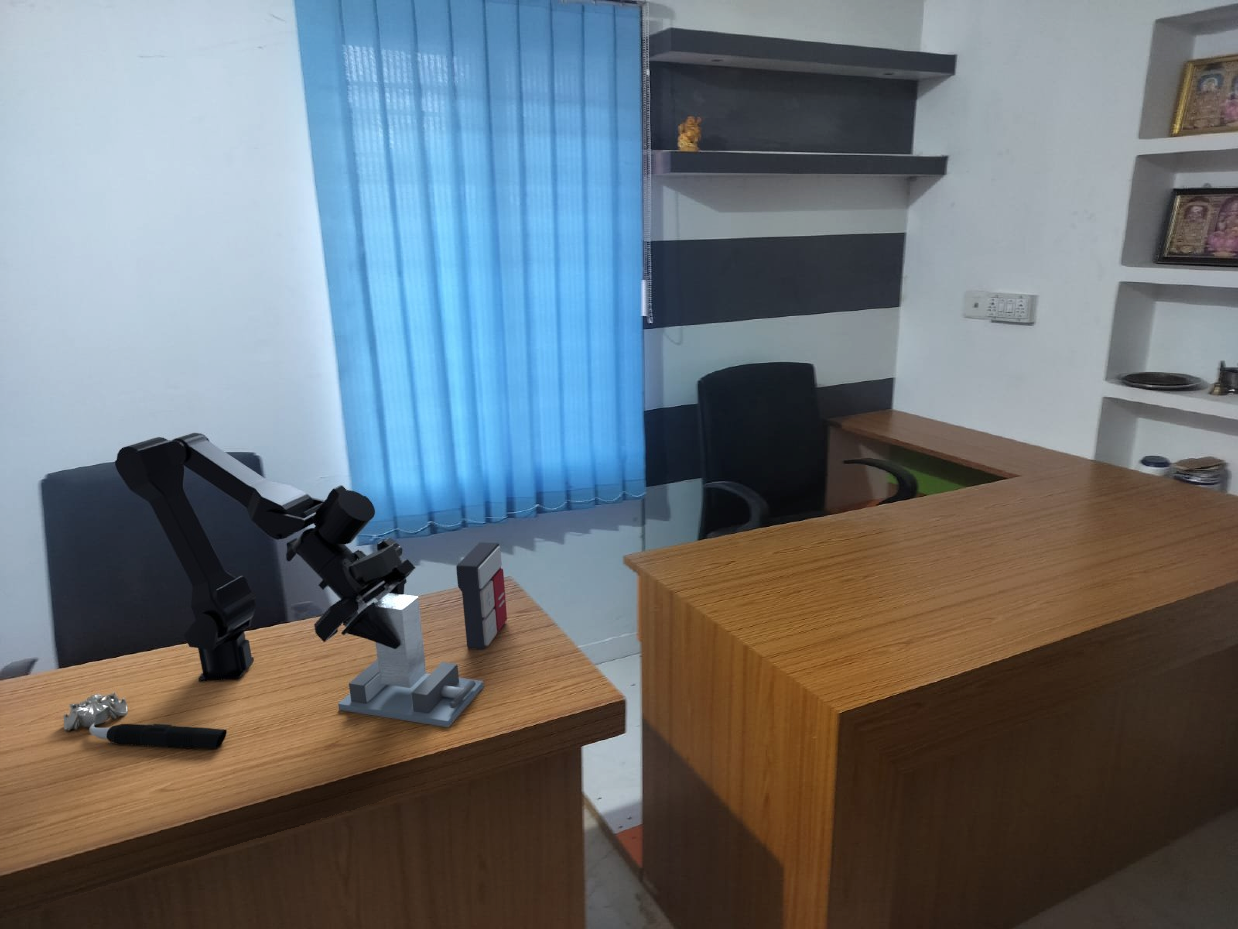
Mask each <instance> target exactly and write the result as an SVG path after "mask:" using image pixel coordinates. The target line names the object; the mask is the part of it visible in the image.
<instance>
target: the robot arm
mask: <svg viewBox="0 0 1238 929" xmlns="http://www.w3.org/2000/svg"><path fill="white" fill-rule="evenodd" d="M114 465H115V469H116V471H117V473H118V475H119V476H120V477H121V479H122V480H123V482H124V483H125V485H126V486H127V487H128V490H130V491H131V492H132V493H133V494H136V495H137V496H139V497H140V498H141V499H143V500H145V501H147V502H148V503H149V505H150V506H151V508H152V510H153V512H154V514H155V516H156V517H157V519H158V521H159V524H160V525H161V527H162V529H163V532H164V533H165V535H166V537H167V539H168V541H169V543H170V545H171V546H172V549H173V551H174V553H175V554H176V556H177V558H178V561H179V562H180V564H181V566H182V568H183V570H184V572H185V574H186V575H187V578H188V580H189V581H190V582H189V583H190V584H191V586H192V592H191V601H190V602H191V604H190V607H191V610H192V612H193V616H194V618H195V619H194V620H195V621H193V623H192V624H191V626H190V627H189V628H188V629H187V630H186V632H185V633H184V634H183V637H184V639H185V641H186V642H187V645H188V647H189V648H194V649H197V650H198V656H199V661H200V664H201V670H202V673H201V674H200V675H199V676H198V678H197V679H198V682H217V681H220V682H221V681H233V680H234V681H235V680H239V679H242V677H243V675H244V674H245V673H246V672H247V670H248V669H249V667H250V666H251V665H252V663H253V662H254V660H255V657H253V656H252V651H251V645H250V641H249V639H246V634H245V629H247V628H250V627H251V625H252V621H253V620H252V619H253V617H254V615H255V612H256V609H257V605H256V600H255V598H256V595H255V594H254V593H253V591H252V590H251V589H250V588H251V587H250V586H249V583H248V580H247V578H245V577H244V575H240V576H238V577H235V576H233V575H232V574H231V573H229V572H227V571H226V570H225V568H224V567H223V565H222V562H221V561H220V559H219V556H218V555H217V552H216V551H215V548H214V547H213V545H212V543H211V541H210V539H209V537H208V535H207V533H206V531H205V529H204V527H203V526H202V522H200V519H199V517H198V515H197V513H196V512H195V509H194V507H193V506H192V503H191V502H190V500H189V497H188V495H187V493H186V491H185V490H184V483H185V482H184V481H185V473H186V472H185V471H186V470H185V469H186V468H187V469H188V470H190V471H191V472H192V473H195V475H197V476H199V477H200V478H201V479H203V480H204V481H206V482H208V483H209V484H211V486H213V487H215V488H217V489H218V490H220V491H221V492H223V493H224V494H226V495H227V496H228V497H230V498H232V499H233V500H234V501H236V502H237V503H239V504H240V505H241V506H242V507H244V508H245V510H246V511H247V513H248V515H249V518H250V521H251V522H252V523H253V524H254V525H255V526H256V527H258V528H259V529H260V530H261V531H262V532H263V533H264V534H266V536H268V537H269V538H271V539H273V540H276V541H279V540H283V539H287V538H288V537H291V536H293V535H294V534H295V535H296V533H298V532H301V531H302V530H304V529H305V530H304V531H303V532H302V533H300V535H299V537H295V538H293V539H292V540H290V541H288V542H286V544H285V546H286V553H285V555H286V556H285V559H286V561H287V562H291V561H293V560H295V559H297V558H299V557H300V558H301V560H302V561H303V562H304V563H305V564H306V565H307V566H308V567H309V568H310V569H311V570H312V571H313V572H314V573H315V574H316V575H317V576H318V577H319V578H320V579H321V581H320V582H319V584H318V587H320V589H322V590H323V591H324V590H325V589H327V588H329V589H330V590H331V591H332V592H333V593H334V594H335V595H336V596H337V597H338V598H339V599H338V601H336V602H335V603H333V604H332V605H330V606H329V607H328V608H327V610H326V611H325V612H324V613H323V614H322V615H321V616H320V617H319V619H317V620H316V622H315V623H314V624H313V625H314V626H313V627H314V631H315V634H316V636H318V638H319V639H321V641H322V642H323V643H326V642H327V641H328V640H330V639H331V638H332V637H334V636H335V635H337V633H338V632H339V630H338V629H339V628H340V627H341V625H343V626H344V627H345V628H344V629H343V630H342V631H341V635H343V636H345V635H347V634H348V635H351V636H354V637H359V638H362V639H365V640H369V641H371V642H374V643H376V642H377V643H379V644H382V645H385V646H388V647H390V648H393V649H397V648H398V647H399V646H400V643H399V641H398V640H397V638H396V637H395V636H394V635H393V633H392V632H391V631H390V630H389V629H388V628H387V626H386V625H385V624H384V623H383V622H382V621H381V620H380V618H379V617H378V616H377V613H376V608H375V603H376V602H374V601H373V600H374V599H375V600H377V601H379V600H380V599H381V598H383V597H384V596H385V595H387V594H388V593H392V594H401V595H405V585H406V584H407V582H408V581H407V578H409V576H410V575H411V574H412V573H413V572H414V570H416V568H417V567H416V566H415V564H413V563H412V562H411V561H410V560H409V559H408V558H400V556H402V555H403V548H402V546H400V544H399V543H398V542H397V541H396V540H395V539H394V538H392V537H391V536H389V537H387V538H384V539H383V540H381V541H379V542H378V543H377V544H376V547H377V548H376V550H374V552H371V553H370V554H367V555H366V554H365V553H364V551H362V550H359V549H357V550H355V551H352V550H351V549H350V548H349V547H348V546H347V545H348V544H351V543H352V542H353V541H354V540H355V539H356V538H357V537H358V536H359V535H360V533H361V532H362V531H363V530H364V528H365V527H366V526H368V524H369V523H370V522H371V521H372V520H373V518H374V517H375V515H376V510H375V509H376V508H375V506H374V504H373V502H372V501H371V499H370V498H368V497H367V496H366V495H363V494H362V493H360V492H358V491H355V490H350V489H347V488H345V487H344V485H342V484H340V485H338V486H336V487H334V488H332V489H331V491H330V492H328V495H327V497H326V499H320V498H315V497H312V496H310V495H309V494H308V493H306V492H305V491H303V490H300V489H299V488H296V487H294V486H292V485H290V484H288V483H287V484H286V483H283V482H282V483H281V482H276V481H271V480H269V479H267V478H265V477H263V476H262V475H260V474H258V473H257V472H256V471H254V470H253V469H251V468H250V467H248V466H246V465H245V464H244V463H242V462H241V461H239V460H238V459H236V458H234V457H233V456H231V455H230V454H229V453H227V452H225V450H222V449H221V448H220V447H218V446H217V445H215V444H213V443H212V442H211V441H210V439H209V438H208V436H206V435H205V434H204V433H198V432H191V433H188V434H186V435H185V434H184V435H182V436H179V437H175V438H173V439H171V440H170V439H168V438H165V437H160V436H158V437H153V438H150V439H147V440H144V441H140V442H137V443H133V444H129V445H127V446H123V447H122V448H120V449H119V451H118V452H117V454H116V460H115V461H114ZM185 467H186V468H185ZM311 525H314V527H311V528H310V527H309V526H311ZM308 527H309V528H308ZM306 528H307V529H306ZM371 601H373V602H371ZM370 602H371V603H370ZM367 604H369V605H367Z"/></svg>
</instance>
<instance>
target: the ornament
mask: <svg viewBox="0 0 1238 929" xmlns="http://www.w3.org/2000/svg"><path fill="white" fill-rule="evenodd" d="M69 708H70V710H69V711H70V712H69V714H68V713H64V714H63V715H62V716H63V729H64V730H65V731H66V732H69V731H71V730H72V729H73V730H74V731H75V730H78V729H79V728H81V727H91V725H92V724H93V723H94V722H95V724H94V726H98V725H99V724H102V723H105V722H107V721H108V720H109V719H111V718H112V719H119V718H120V717H125V716H126V715H127V714H128V711H129V710H128V705H127V700H126V699H125V698H122V699H120V698H119V697H118V696H117V694H116V692H112V693H110V694H108V695H102V694H97V693H96V694H94V695H90V696H89V697H87V698H86V700H84V701H81V702H79V703H78V702H77V703H69Z"/></svg>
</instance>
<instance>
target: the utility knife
mask: <svg viewBox="0 0 1238 929" xmlns="http://www.w3.org/2000/svg"><path fill="white" fill-rule="evenodd" d="M94 724H95V722H94V723H93V724H92V725H91V726H89V733H90V735H92V736H94V737H96V738H99V739H103V740H107V741H108V742H110V743H113V744H116V745H119V746H120V745H121V746H137V747H139V746H140V747H156V748H168V749H171V748H177V749H192V750H193V749H198V750H201V749H202V750H210V749H211V750H218V749H219V747H220V746H221V745H222V744H223V742H224V741H225V738H226V736H227V733H228V731H227V729H221V728H210V727H201V726H198V727H197V726H180V725H178V726H177V725H172V724H164V723H162V724H161V723H153V724H141V723H140V724H138V723H121V724H115V725H113V726H110V727H95V725H94Z"/></svg>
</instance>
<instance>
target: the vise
mask: <svg viewBox="0 0 1238 929" xmlns="http://www.w3.org/2000/svg"><path fill="white" fill-rule="evenodd" d="M458 668H459V667H458V663H453V662H446V661H442V662H441V663H440V664H439V665H438V666H436V668H435V669H434V670H433V671H431V673H427V672H426V673H425V674H424V675H423V676H422V677H421V678H420V679H419V680H418V681H417V682H416V683H415V684H414V685H413V686H412V687H411V688H406V687H399V686H393V685H386V684H380V675H379V667H378V659H376V660H374V661H373V662H372V663H371V664H370V665H368V666H367V667H366V668H365V669H363V671H361V672H360V673H359V674H358V675H356V677H354V678H353V679H352V680H351V681H350V682H348V687H349V693H348V694H347V695H346V696H345V697H344V698H343V699H342V700H340V701H339V702H338V703H337V704H338V705H337V706H338V710H339V711H344V712H351V713H357V714H364V715H370V716H376V717H381V718H389V719H395V720H401V721H407V722H413V723H418V724H419V723H420V724H426V725H433V726H439V727H445V728H449V727H451V725H452V724H453V723H454V721H455V720H457V718H458V717H459V716H460V714H462V713H463V711H464V710H465V709H466V708H467V707H468V706H469V705H470V703H471V702H472V701H473V700H474V699H475V698H476V696H477V695H478V694H479V693H480V692H481V690H483V688H484V687H485V686H484V680H477V679H472V678H465V677H460V676H459V669H458Z"/></svg>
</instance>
